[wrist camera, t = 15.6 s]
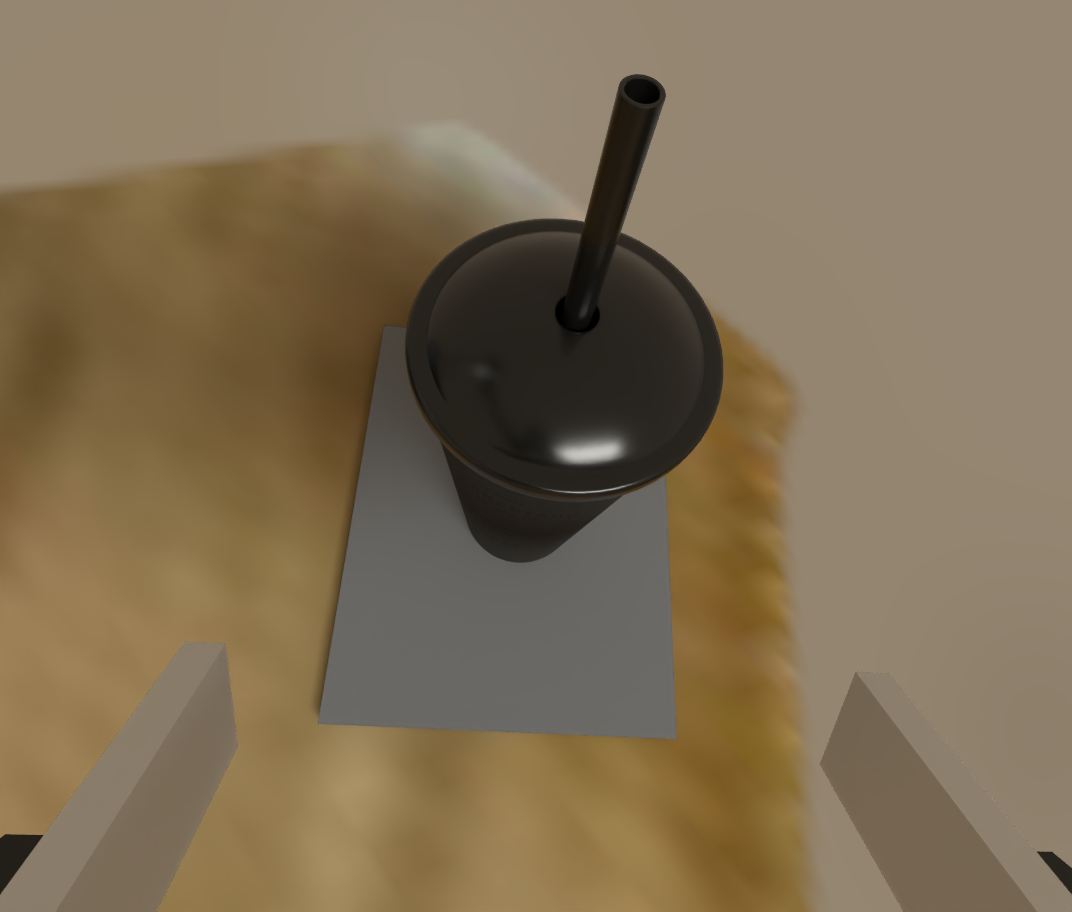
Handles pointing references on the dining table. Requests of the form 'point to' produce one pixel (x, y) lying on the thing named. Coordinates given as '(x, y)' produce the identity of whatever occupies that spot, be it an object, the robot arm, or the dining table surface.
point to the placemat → (492, 603)
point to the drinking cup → (564, 358)
